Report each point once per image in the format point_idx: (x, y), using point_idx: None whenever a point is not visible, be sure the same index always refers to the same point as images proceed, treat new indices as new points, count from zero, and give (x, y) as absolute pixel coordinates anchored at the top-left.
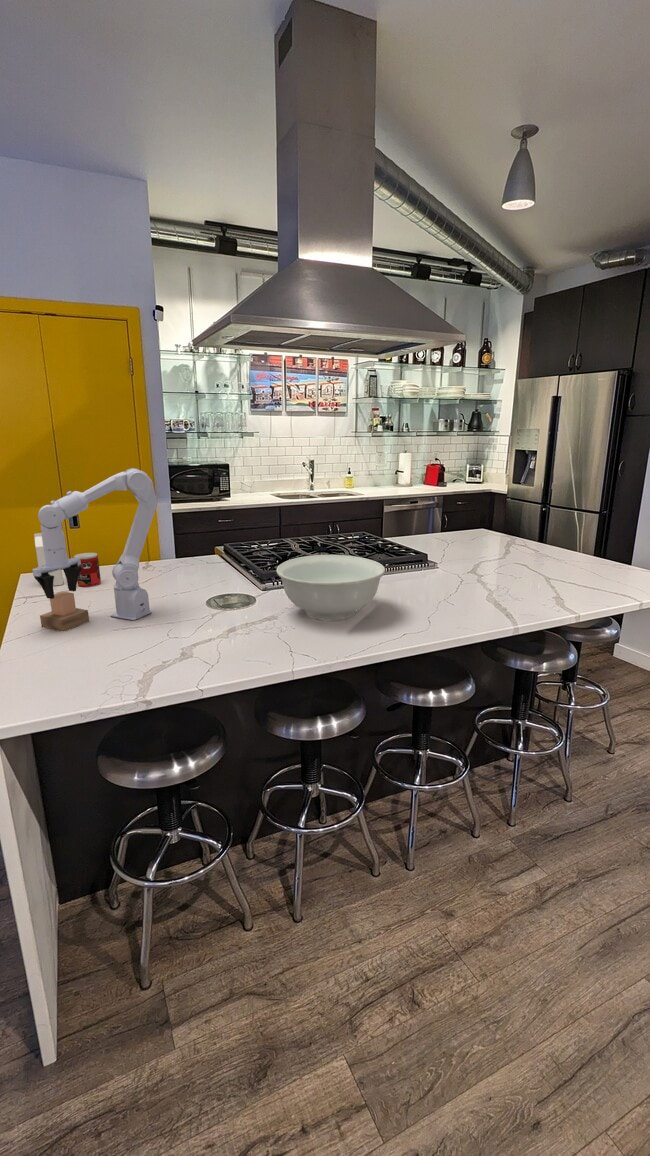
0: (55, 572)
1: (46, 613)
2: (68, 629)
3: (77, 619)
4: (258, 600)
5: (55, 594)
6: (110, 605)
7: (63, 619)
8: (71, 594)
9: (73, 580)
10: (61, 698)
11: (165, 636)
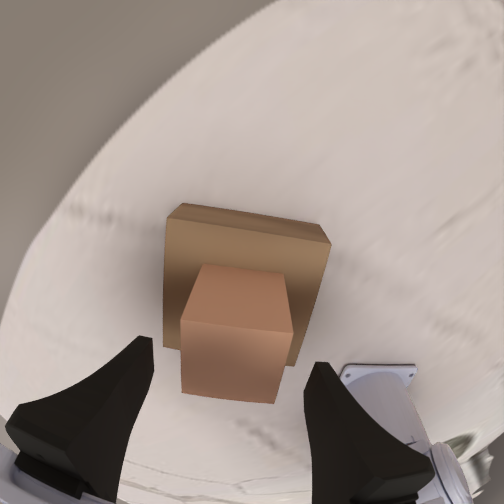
0: None
1: (201, 228)
2: None
3: None
4: None
5: (220, 335)
6: (457, 290)
7: (168, 347)
8: (256, 400)
9: (314, 450)
10: None
11: (238, 480)
